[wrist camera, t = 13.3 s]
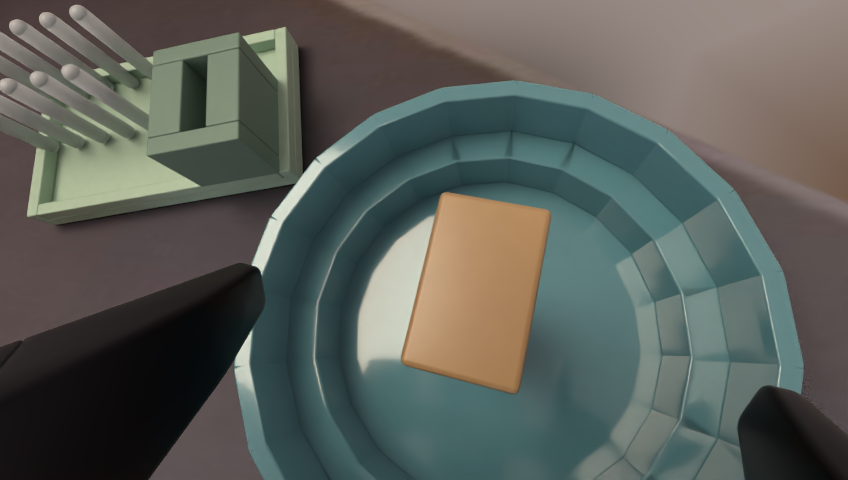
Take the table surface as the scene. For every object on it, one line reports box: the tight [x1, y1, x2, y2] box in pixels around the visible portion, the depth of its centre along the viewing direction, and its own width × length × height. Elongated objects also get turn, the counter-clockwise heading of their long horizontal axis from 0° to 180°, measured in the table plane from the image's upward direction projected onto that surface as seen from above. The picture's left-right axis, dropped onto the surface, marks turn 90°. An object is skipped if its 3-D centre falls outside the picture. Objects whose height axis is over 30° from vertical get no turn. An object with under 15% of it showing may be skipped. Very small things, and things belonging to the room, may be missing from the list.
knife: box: [401, 192, 552, 394], centre depth 11 cm, size 3×1×13 cm, turn 166°
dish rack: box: [0, 5, 303, 225], centre depth 20 cm, size 8×14×6 cm, turn 96°
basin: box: [234, 80, 804, 480], centre depth 15 cm, size 16×16×6 cm
